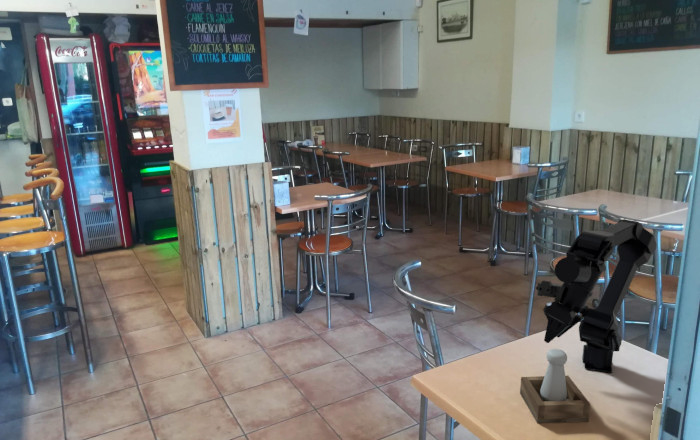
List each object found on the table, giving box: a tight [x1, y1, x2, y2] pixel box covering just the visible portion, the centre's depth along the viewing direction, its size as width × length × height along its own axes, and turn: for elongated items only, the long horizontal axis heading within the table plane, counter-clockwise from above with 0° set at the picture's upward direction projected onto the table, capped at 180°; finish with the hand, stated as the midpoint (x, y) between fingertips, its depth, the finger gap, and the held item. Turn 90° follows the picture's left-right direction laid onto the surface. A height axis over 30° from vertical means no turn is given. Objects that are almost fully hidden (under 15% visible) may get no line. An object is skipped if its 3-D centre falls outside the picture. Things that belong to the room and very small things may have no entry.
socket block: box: [519, 375, 591, 424], centre depth 120 cm, size 11×11×4 cm
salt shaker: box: [540, 348, 568, 401], centre depth 119 cm, size 6×6×13 cm
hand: (551, 339), depth 127 cm, fingers open, 9 cm apart
